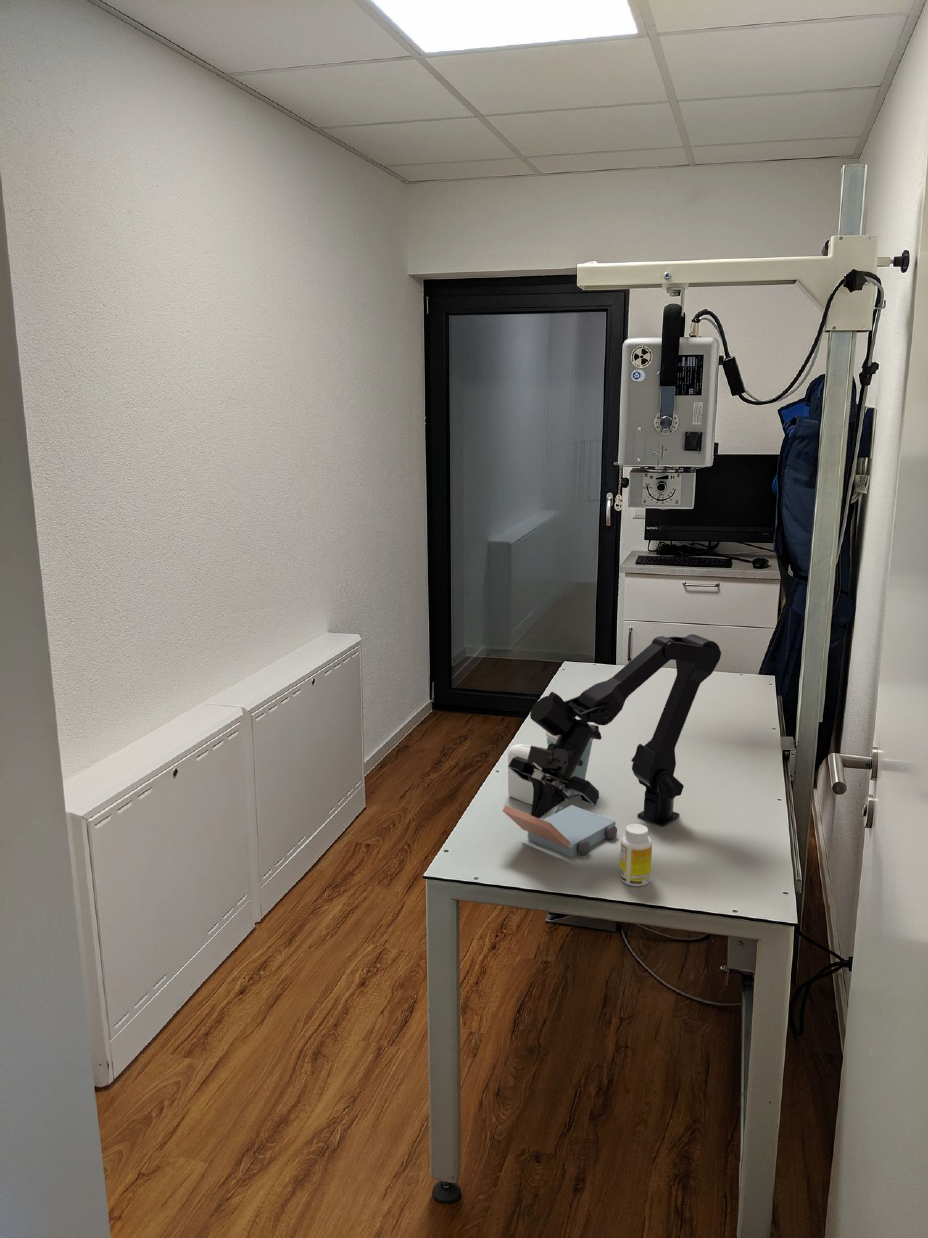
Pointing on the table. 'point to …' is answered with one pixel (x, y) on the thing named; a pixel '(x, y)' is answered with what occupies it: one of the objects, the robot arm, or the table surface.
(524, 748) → the photo printer
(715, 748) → the table surface
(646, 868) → the supplement bottle
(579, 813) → the cart bed
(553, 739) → the disposable coffee cup
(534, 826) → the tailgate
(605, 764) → the table surface
